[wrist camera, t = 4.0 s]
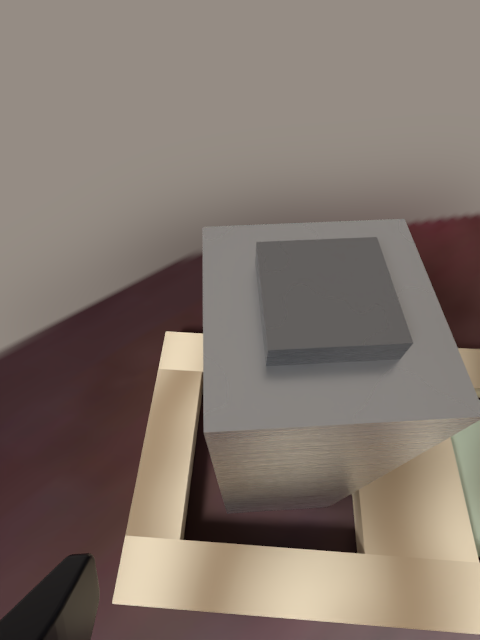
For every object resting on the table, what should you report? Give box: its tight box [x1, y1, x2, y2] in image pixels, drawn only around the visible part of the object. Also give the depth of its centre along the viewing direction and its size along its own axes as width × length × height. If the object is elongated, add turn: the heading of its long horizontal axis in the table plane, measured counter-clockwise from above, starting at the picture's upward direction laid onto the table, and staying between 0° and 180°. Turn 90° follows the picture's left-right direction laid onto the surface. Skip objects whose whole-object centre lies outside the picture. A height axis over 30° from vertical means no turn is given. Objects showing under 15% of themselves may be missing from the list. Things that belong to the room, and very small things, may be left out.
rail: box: [112, 332, 480, 634], centre depth 18 cm, size 24×12×1 cm, turn 86°
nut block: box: [203, 219, 480, 513], centre depth 13 cm, size 5×5×14 cm
